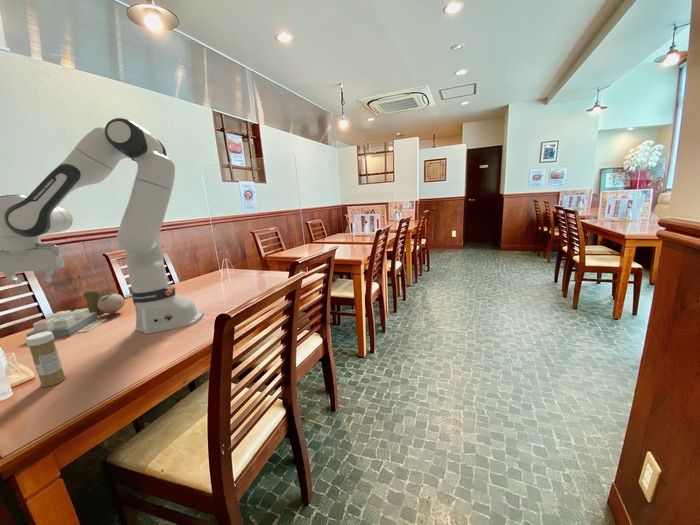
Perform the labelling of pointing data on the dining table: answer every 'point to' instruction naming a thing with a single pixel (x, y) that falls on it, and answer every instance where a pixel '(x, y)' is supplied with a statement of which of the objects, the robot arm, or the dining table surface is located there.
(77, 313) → the key
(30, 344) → the sprinkles bottle
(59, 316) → the key
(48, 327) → the key
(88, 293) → the olive green cup
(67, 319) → the key
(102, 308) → the decorative fruit
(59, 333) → the keypad board
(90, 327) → the strip
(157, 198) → the robot arm
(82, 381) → the dining table surface
